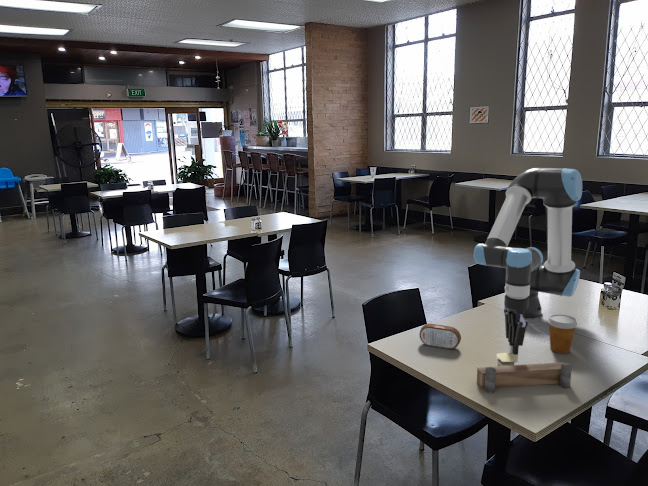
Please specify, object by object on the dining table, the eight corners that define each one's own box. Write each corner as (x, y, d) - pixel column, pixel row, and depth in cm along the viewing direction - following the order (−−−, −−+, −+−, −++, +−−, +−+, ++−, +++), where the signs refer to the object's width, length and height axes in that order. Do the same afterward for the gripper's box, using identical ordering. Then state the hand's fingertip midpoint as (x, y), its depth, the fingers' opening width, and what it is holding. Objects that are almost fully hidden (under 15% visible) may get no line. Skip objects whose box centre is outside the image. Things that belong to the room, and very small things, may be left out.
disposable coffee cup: (572, 345, 181) (575, 315, 179) (576, 356, 173) (579, 324, 170) (544, 342, 184) (546, 312, 182) (546, 353, 176) (549, 322, 173)
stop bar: (476, 381, 158) (477, 361, 156) (561, 376, 159) (563, 356, 158) (485, 393, 151) (486, 372, 149) (573, 387, 153) (575, 366, 151)
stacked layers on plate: (523, 380, 159) (524, 364, 158) (495, 379, 160) (496, 363, 158) (515, 365, 168) (516, 350, 167) (488, 365, 169) (489, 350, 168)
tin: (460, 348, 182) (461, 327, 180) (459, 351, 179) (460, 330, 177) (420, 342, 188) (420, 321, 186) (418, 345, 185) (418, 324, 184)
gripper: (497, 289, 168) (494, 353, 173) (514, 302, 156) (510, 371, 161) (519, 288, 169) (515, 352, 174) (537, 301, 156) (532, 370, 161)
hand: (512, 361), depth 167 cm, fingers closed
